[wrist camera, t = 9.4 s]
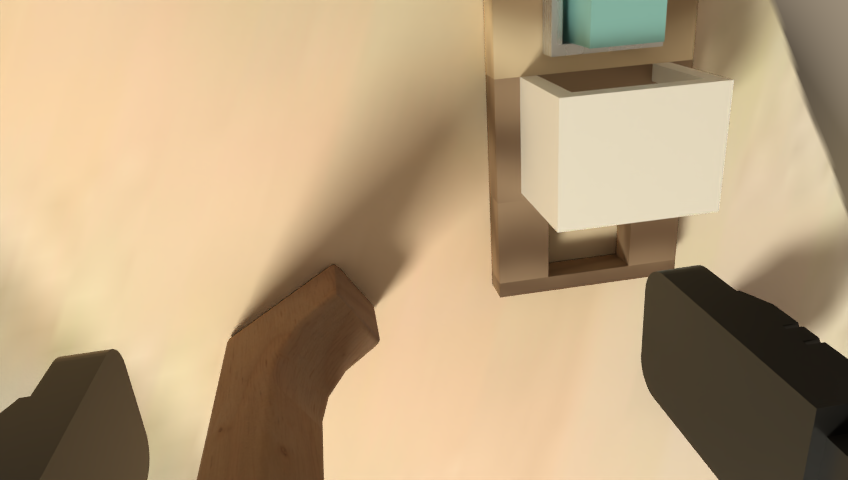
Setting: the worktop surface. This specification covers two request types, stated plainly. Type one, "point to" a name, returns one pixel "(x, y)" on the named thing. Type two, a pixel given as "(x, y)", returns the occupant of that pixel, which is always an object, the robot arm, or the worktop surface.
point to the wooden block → (286, 382)
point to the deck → (509, 210)
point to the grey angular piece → (557, 47)
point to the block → (613, 22)
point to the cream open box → (625, 148)
